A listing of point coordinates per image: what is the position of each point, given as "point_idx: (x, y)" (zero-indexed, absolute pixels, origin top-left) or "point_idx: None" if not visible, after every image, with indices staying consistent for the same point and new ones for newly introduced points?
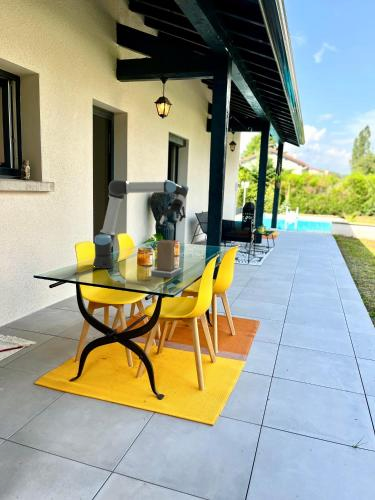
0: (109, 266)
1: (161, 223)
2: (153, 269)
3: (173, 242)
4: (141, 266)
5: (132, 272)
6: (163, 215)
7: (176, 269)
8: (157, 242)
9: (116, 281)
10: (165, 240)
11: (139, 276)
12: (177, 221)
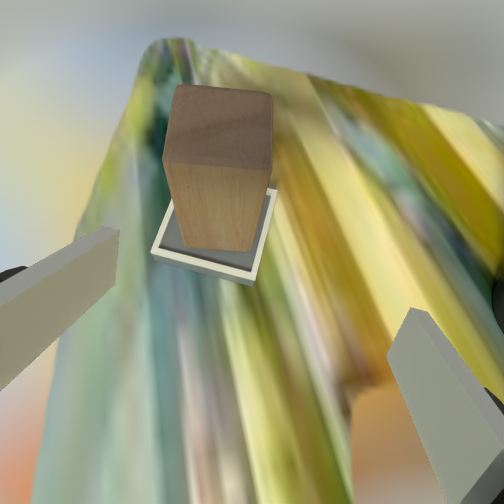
0: (501, 286)
1: (395, 345)
2: (271, 201)
3: (166, 136)
4: (383, 370)
5: (365, 238)
6: (500, 444)
7: (168, 218)
8: (268, 94)
9: (357, 117)
10: (229, 145)
11: (312, 184)
12: (95, 240)
